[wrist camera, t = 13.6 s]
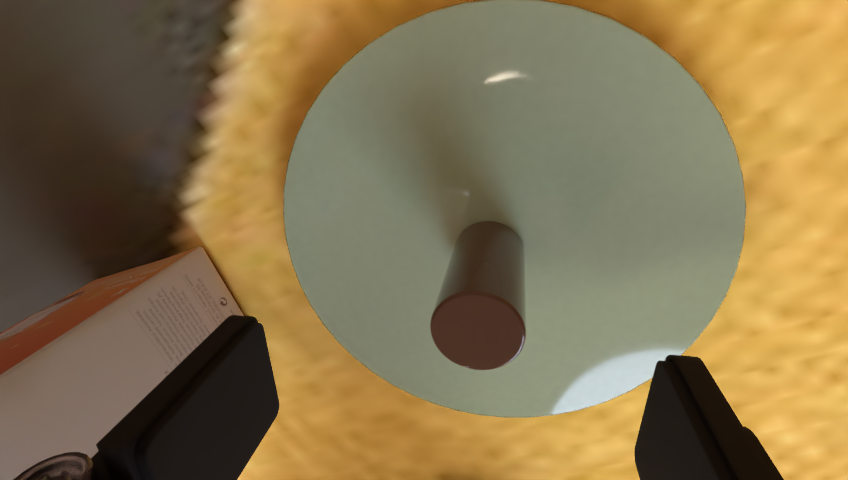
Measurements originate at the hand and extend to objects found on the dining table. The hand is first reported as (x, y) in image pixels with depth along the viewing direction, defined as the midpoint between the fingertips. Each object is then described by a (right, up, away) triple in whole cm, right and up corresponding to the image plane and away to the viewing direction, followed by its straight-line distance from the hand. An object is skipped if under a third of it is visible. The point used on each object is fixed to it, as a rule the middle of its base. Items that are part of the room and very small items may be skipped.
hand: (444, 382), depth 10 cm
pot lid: (+2, +3, +6) cm, 7 cm away
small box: (-13, 0, +12) cm, 18 cm away
